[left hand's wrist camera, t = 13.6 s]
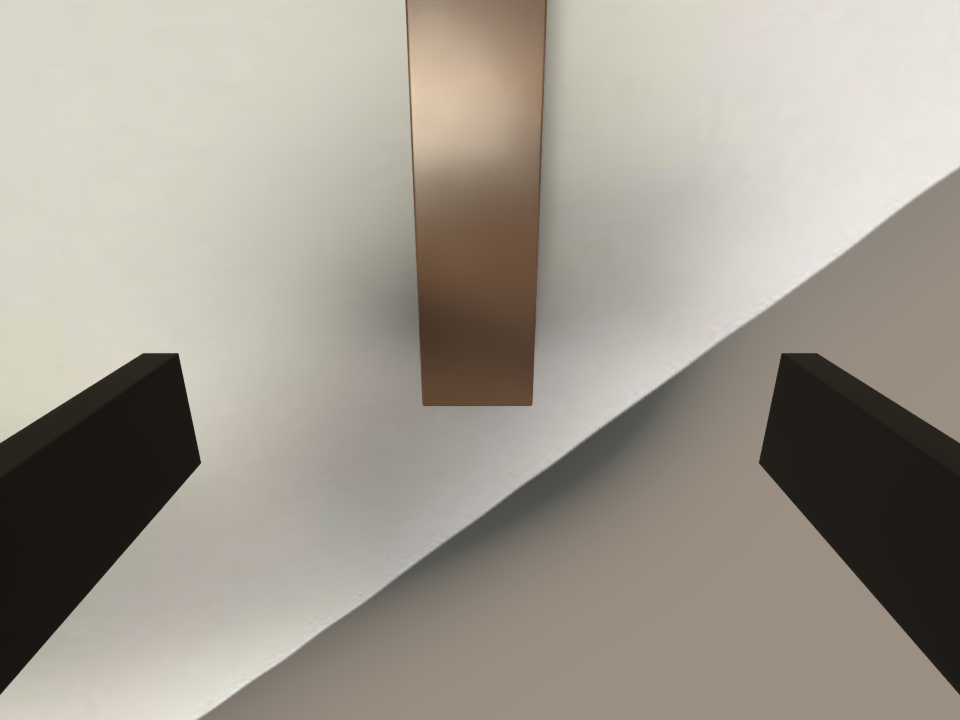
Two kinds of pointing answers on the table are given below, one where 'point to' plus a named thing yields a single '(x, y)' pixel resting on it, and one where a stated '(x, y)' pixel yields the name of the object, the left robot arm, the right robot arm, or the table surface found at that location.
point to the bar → (476, 194)
